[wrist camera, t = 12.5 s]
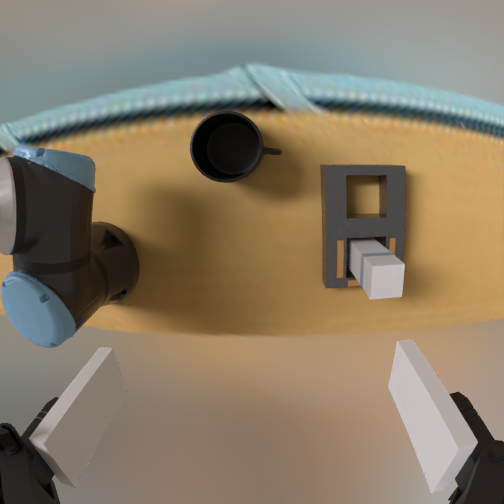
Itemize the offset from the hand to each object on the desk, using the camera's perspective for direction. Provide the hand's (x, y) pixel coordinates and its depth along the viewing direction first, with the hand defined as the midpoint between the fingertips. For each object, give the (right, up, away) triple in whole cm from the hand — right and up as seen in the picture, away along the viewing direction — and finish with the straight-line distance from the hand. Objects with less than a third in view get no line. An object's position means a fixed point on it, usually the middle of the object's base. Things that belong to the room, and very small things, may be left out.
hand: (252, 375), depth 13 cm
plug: (+18, +6, +38) cm, 42 cm away
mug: (-2, +21, +35) cm, 41 cm away
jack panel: (+18, +10, +36) cm, 42 cm away
